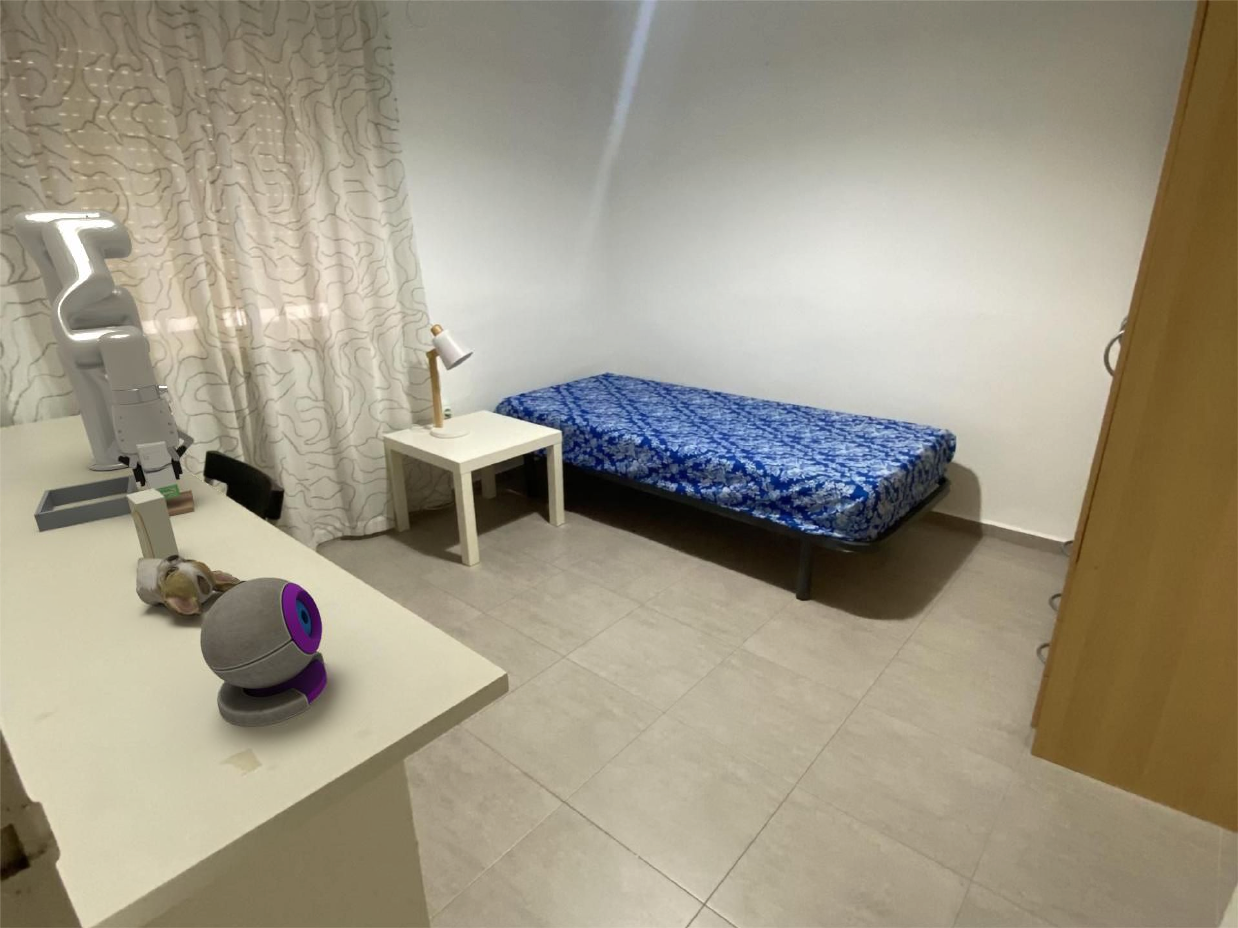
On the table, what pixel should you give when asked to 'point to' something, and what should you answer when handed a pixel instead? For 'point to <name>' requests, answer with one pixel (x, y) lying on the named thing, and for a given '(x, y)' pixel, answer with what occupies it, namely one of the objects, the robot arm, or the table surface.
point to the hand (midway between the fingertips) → (160, 480)
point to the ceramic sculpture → (180, 583)
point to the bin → (86, 512)
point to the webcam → (264, 651)
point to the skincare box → (152, 524)
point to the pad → (180, 504)
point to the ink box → (158, 468)
